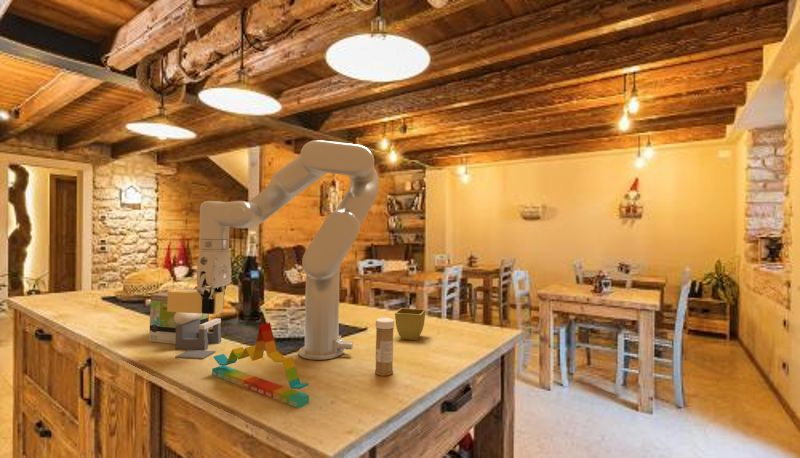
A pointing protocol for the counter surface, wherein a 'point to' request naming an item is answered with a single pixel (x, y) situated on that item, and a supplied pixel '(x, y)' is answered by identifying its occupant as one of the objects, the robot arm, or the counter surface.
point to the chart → (258, 384)
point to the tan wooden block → (192, 301)
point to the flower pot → (410, 322)
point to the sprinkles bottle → (384, 346)
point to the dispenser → (195, 331)
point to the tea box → (165, 320)
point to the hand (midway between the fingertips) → (212, 310)
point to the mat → (195, 354)
